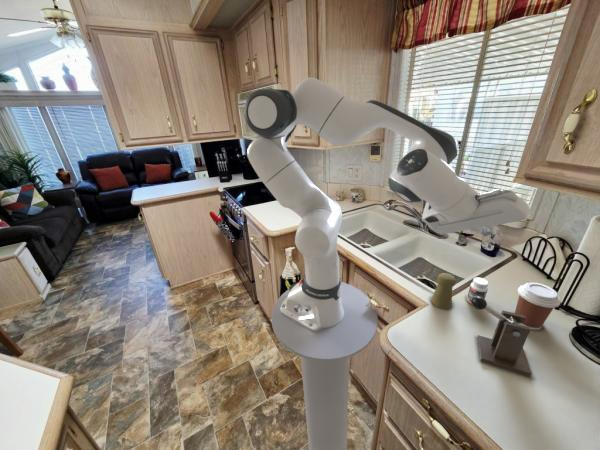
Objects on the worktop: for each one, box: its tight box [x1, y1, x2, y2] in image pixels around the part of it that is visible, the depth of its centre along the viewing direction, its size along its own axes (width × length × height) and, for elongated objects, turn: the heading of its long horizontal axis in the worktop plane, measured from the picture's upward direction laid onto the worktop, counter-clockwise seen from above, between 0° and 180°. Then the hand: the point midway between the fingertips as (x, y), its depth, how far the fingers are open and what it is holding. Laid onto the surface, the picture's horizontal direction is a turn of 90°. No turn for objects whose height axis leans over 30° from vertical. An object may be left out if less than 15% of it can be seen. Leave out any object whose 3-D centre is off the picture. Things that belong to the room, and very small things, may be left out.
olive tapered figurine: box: [431, 272, 457, 310], centre depth 82 cm, size 6×6×11 cm
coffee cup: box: [514, 281, 562, 331], centre depth 73 cm, size 9×9×12 cm
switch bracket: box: [476, 310, 533, 377], centre depth 63 cm, size 10×8×13 cm
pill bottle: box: [466, 276, 489, 305], centre depth 82 cm, size 5×5×8 cm
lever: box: [470, 296, 523, 326], centre depth 62 cm, size 12×3×3 cm, turn 63°
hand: (490, 233), depth 62 cm, fingers closed
